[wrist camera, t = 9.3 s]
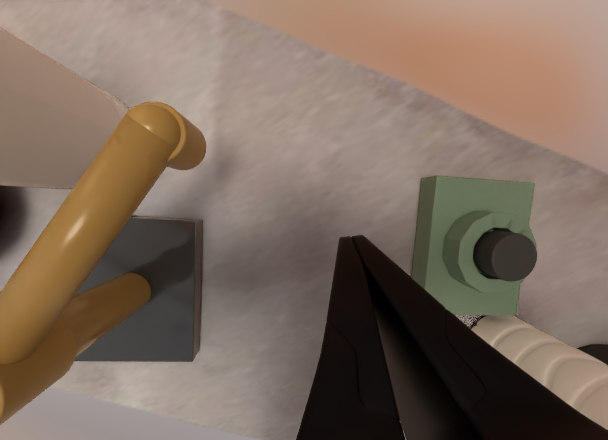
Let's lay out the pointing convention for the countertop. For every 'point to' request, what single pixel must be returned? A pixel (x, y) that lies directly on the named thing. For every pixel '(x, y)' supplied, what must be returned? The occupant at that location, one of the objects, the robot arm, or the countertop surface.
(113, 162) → the spout
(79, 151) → the bottle
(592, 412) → the water bottle
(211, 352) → the countertop surface
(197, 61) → the countertop surface
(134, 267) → the tap base
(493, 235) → the dark round button
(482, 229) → the green button mount
